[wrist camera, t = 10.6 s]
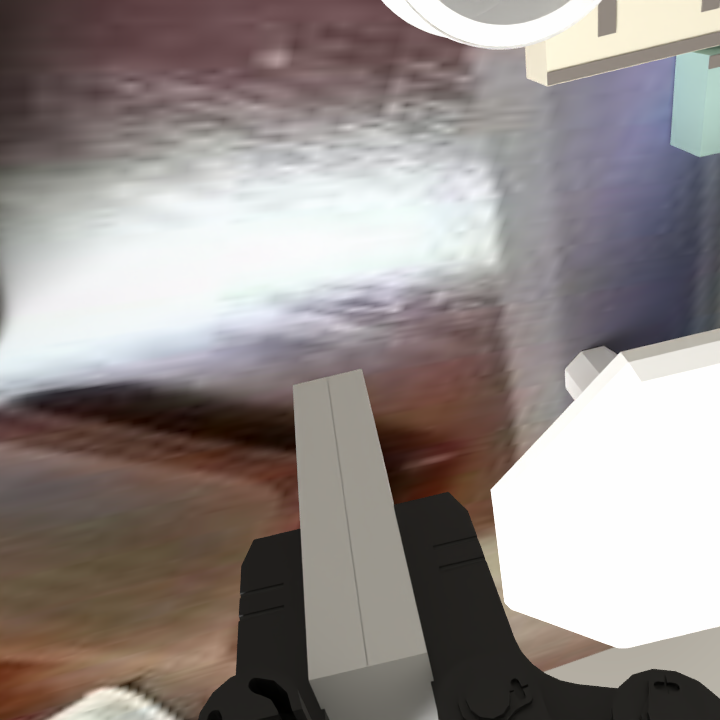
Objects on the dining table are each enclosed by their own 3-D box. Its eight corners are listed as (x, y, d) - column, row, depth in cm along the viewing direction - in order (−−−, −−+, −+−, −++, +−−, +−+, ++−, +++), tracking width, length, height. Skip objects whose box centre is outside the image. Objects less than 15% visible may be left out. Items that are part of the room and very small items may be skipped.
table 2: (394, 487, 56) (436, 657, 42) (483, 179, 43) (589, 280, 28) (667, 504, 62) (783, 659, 48) (823, 236, 48) (1052, 345, 34)
